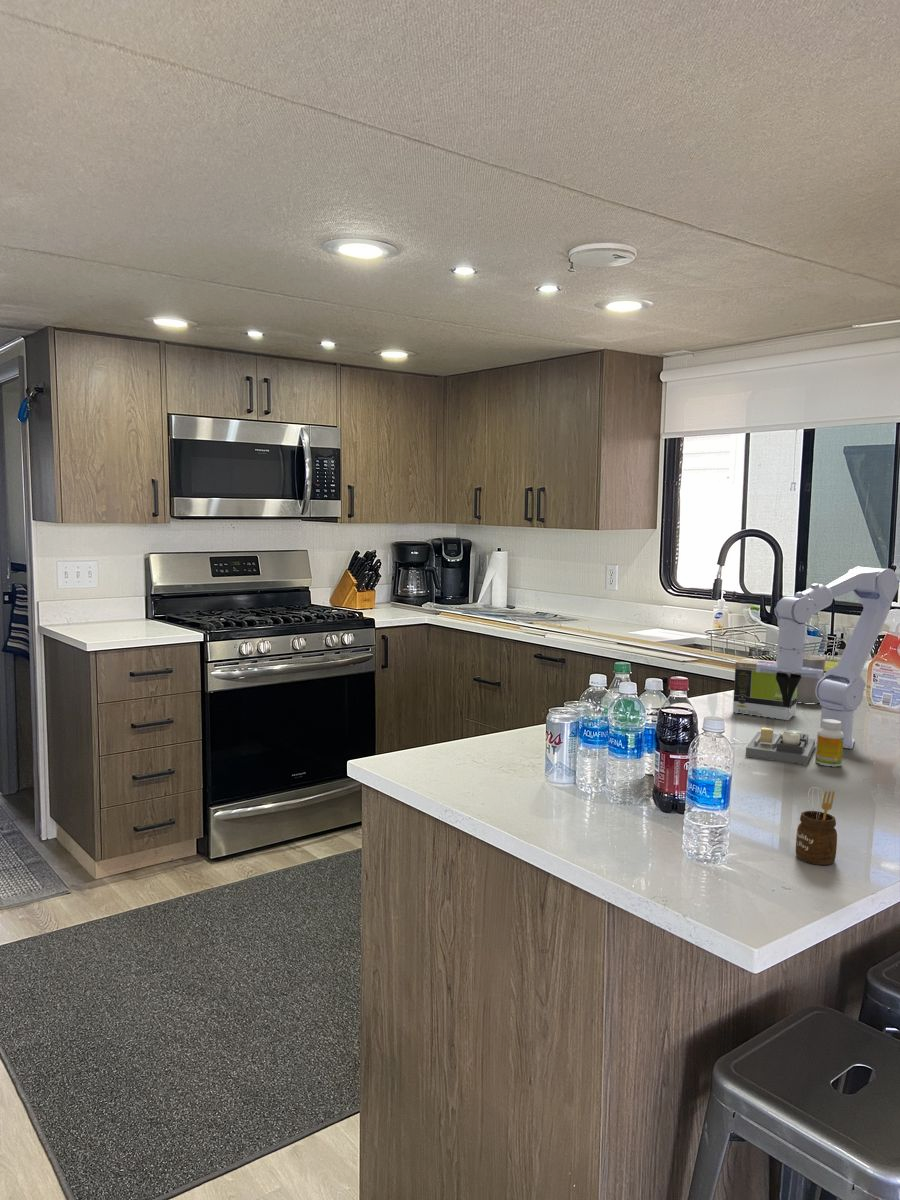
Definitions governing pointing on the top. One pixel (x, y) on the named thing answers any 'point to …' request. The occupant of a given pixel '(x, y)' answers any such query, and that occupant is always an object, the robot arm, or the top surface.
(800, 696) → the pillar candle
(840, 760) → the supplement bottle
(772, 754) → the panel
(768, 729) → the tan wooden block
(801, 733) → the sage button
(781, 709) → the tea box
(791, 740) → the white button
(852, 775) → the top surface
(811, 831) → the utensil holder
